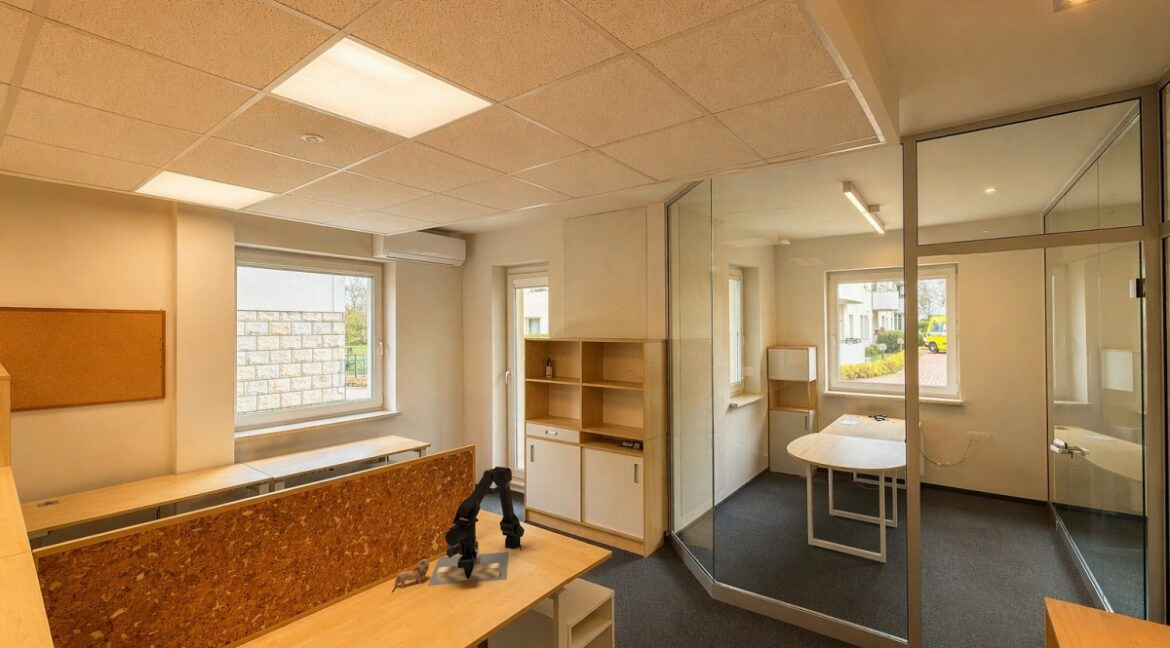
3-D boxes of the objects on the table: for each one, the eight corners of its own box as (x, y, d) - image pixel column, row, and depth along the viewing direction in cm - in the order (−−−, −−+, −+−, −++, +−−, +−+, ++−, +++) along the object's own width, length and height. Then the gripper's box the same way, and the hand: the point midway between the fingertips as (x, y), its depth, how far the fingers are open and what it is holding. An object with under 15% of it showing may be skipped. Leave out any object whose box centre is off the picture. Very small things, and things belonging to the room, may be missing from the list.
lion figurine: (426, 578, 201) (425, 556, 201) (431, 583, 197) (431, 560, 197) (389, 591, 191) (389, 567, 191) (394, 596, 187) (394, 572, 187)
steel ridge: (479, 558, 216) (478, 545, 216) (477, 566, 208) (477, 554, 208) (467, 558, 215) (467, 546, 215) (465, 567, 207) (464, 554, 207)
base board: (508, 554, 221) (508, 552, 221) (506, 582, 196) (506, 579, 196) (439, 559, 217) (439, 556, 217) (428, 588, 193) (428, 585, 193)
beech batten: (499, 572, 202) (499, 562, 202) (499, 577, 198) (498, 567, 198) (438, 577, 199) (438, 567, 199) (436, 582, 195) (436, 572, 195)
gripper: (450, 528, 207) (451, 566, 207) (443, 547, 188) (444, 588, 188) (478, 526, 208) (478, 564, 208) (473, 545, 190) (474, 586, 190)
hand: (468, 575), depth 198 cm, fingers open, 5 cm apart
